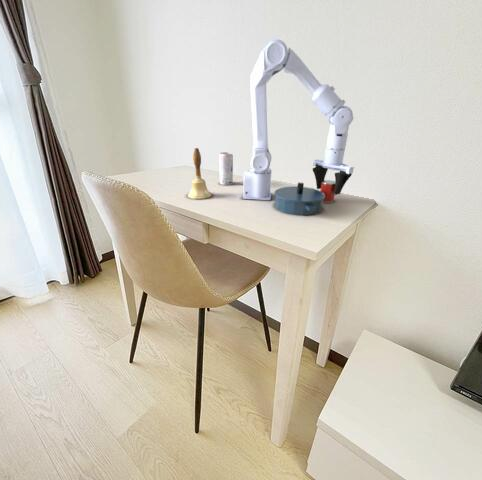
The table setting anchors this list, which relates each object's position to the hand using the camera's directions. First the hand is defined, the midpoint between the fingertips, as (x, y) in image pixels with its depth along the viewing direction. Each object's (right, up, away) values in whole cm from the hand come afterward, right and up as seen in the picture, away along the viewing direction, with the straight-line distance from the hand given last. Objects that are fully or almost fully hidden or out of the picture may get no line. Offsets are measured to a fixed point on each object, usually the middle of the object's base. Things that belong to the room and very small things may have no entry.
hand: (328, 191), depth 87 cm
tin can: (0, -3, +1) cm, 3 cm away
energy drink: (-35, +7, +20) cm, 41 cm away
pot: (-11, -6, -5) cm, 14 cm away
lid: (-11, -2, -7) cm, 13 cm away
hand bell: (-44, -1, +4) cm, 44 cm away
